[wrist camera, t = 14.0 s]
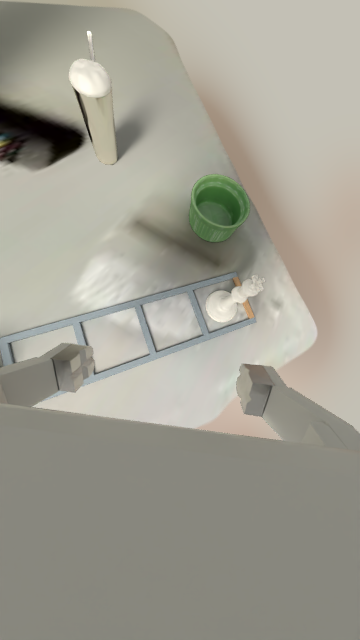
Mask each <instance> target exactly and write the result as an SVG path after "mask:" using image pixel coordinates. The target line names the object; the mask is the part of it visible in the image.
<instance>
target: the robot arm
mask: <svg viewBox="0 0 360 640" xmlns="http://www.w3.org/2000/svg"><path fill="white" fill-rule="evenodd" d="M93 354H94V353H93V348H92V347H91V346H86V345H78V344H71V343H61V344H60V345H58V346H57V347H55V348H54V349H52V350H50V351H49V352H47V353H46V354H44V355H42V356H41V357H39V358H37V357H35V358H32V359H28V360H25V361H21V362H18V363H14V364H10V365H7V366H3V367H0V640H360V434H359V433H358V431H356V430H355V428H354V427H353V426H352V425H350V424H348V423H347V422H345V421H344V420H342V419H340V418H339V417H337V416H336V415H334V414H332V413H331V412H329V411H328V410H326V409H324V408H322V407H321V406H320V405H318V404H316V403H315V402H313V401H311V400H310V399H308V398H306V397H305V396H303V395H302V394H300V393H298V392H297V391H295V390H294V389H292V388H288V387H287V386H286V384H285V383H284V382H283V380H282V379H281V378H280V376H279V375H278V374H277V372H276V371H275V369H274V368H273V367H271V366H262V365H250V364H241V366H240V369H239V371H240V374H241V375H240V376H239V377H238V378H237V382H236V389H237V394H238V396H239V397H240V398H241V402H240V403H241V406H242V409H243V412H244V414H248V415H254V416H261V417H262V418H263V419H264V420H265V421H266V422H267V423H268V425H269V426H270V427H271V428H272V429H273V430H274V431H275V432H276V433H277V434H278V435H279V436H280V437H281V439H283V441H281V440H273V439H266V438H258V437H250V436H243V435H236V434H228V433H221V432H213V431H206V430H199V429H191V428H184V427H177V426H169V425H162V424H154V423H147V422H139V421H131V420H124V419H116V418H109V417H101V416H94V415H86V414H79V413H71V412H64V411H56V410H49V409H42V408H34V407H32V406H34V405H36V404H37V403H39V402H41V401H43V400H44V399H46V398H48V397H50V396H52V395H53V394H55V393H57V392H58V391H66V392H76V391H77V390H78V389H79V388H80V387H81V386H82V384H83V383H84V381H83V380H84V379H86V378H89V377H90V375H91V374H92V372H93V370H94V366H95V362H94V359H93V358H92V357H91V356H92V355H93Z"/></svg>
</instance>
